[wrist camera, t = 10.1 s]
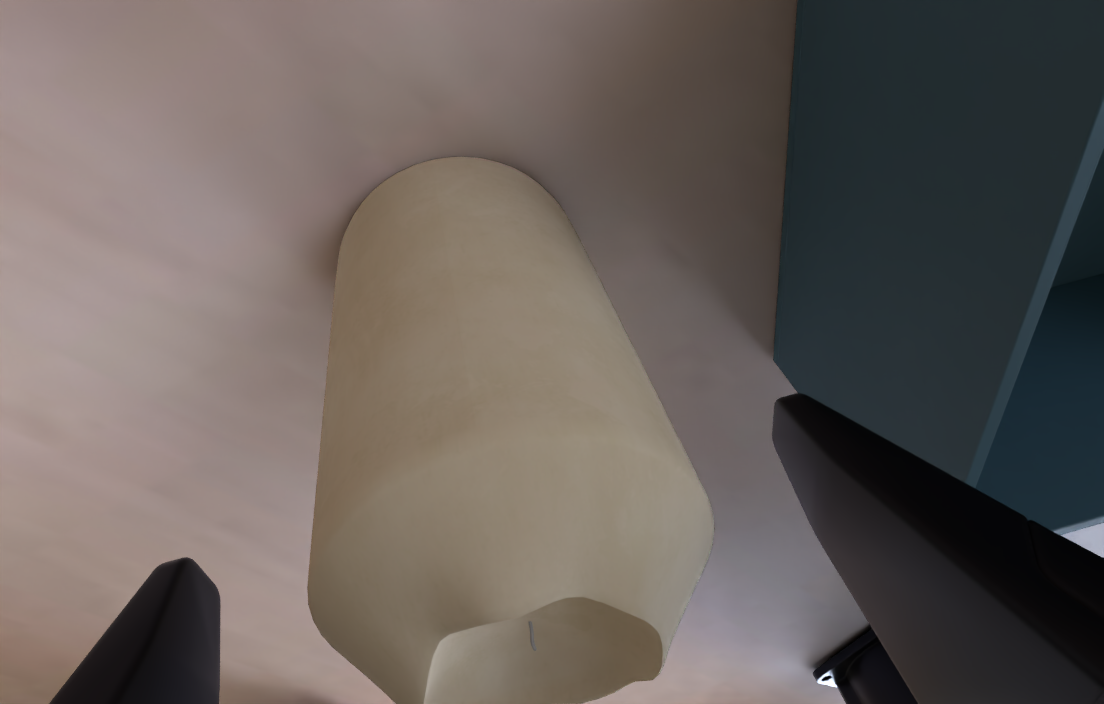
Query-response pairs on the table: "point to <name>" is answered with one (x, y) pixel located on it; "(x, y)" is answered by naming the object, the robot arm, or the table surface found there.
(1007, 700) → the robot arm
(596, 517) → the candle
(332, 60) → the table surface
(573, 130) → the table surface
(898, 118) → the carton
